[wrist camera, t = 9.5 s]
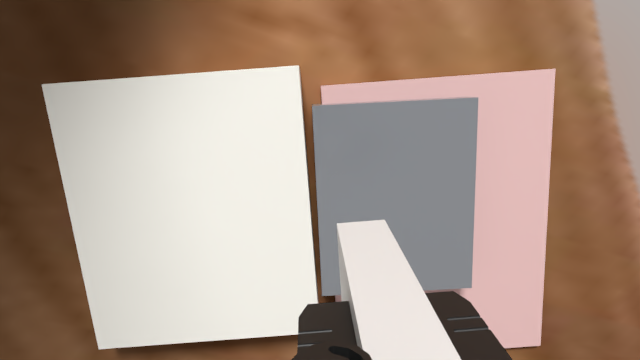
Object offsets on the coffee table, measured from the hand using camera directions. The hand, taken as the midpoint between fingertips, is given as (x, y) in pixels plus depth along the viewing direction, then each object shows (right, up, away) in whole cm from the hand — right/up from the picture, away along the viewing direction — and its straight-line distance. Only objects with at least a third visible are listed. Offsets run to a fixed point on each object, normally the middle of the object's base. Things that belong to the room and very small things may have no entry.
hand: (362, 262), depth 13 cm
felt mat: (+5, 0, +10) cm, 12 cm away
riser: (-8, +1, +10) cm, 13 cm away
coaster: (+2, +2, +9) cm, 10 cm away
